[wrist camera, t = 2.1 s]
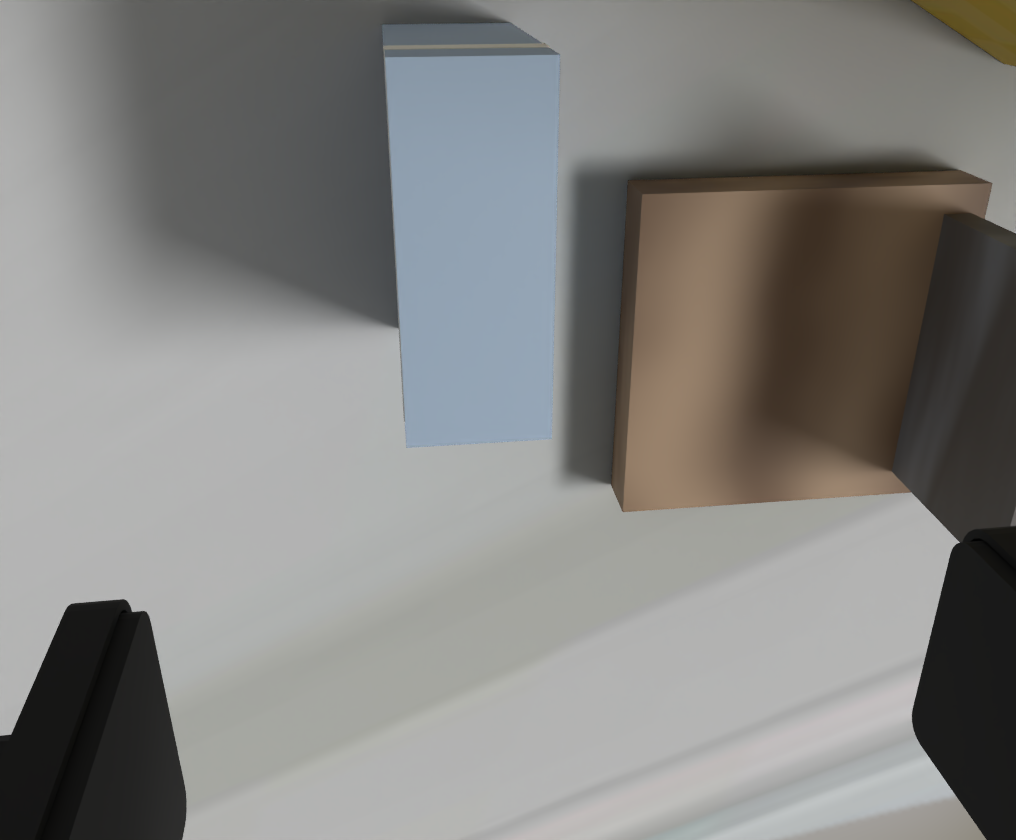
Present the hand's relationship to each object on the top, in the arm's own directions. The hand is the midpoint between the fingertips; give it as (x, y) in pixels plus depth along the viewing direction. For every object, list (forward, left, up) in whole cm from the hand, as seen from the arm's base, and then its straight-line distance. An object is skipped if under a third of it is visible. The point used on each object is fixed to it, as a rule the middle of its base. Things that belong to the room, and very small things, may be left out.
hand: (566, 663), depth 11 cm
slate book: (0, 0, -24) cm, 24 cm away
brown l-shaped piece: (-12, +6, -24) cm, 27 cm away
